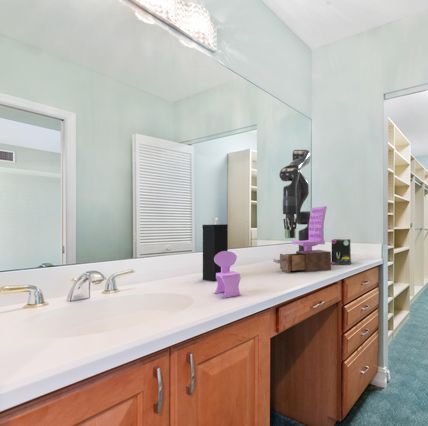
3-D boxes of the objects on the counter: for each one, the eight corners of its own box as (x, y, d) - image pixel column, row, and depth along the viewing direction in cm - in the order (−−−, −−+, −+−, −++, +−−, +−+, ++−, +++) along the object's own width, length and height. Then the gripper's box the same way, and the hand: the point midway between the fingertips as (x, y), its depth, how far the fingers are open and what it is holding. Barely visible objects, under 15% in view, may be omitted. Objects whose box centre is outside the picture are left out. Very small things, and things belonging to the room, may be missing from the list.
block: (284, 238, 148) (284, 229, 149) (292, 237, 150) (292, 229, 150) (287, 238, 144) (287, 229, 145) (295, 238, 146) (295, 229, 146)
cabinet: (306, 272, 141) (305, 253, 141) (296, 268, 152) (296, 251, 153) (331, 269, 147) (330, 251, 148) (319, 266, 159) (319, 249, 159)
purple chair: (291, 263, 171) (291, 207, 173) (315, 261, 180) (315, 207, 181) (303, 266, 158) (302, 205, 160) (328, 264, 167) (327, 206, 168)
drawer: (279, 272, 136) (279, 256, 136) (271, 269, 146) (271, 254, 146) (312, 269, 143) (312, 254, 144) (303, 266, 154) (302, 252, 154)
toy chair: (220, 298, 92) (220, 253, 93) (211, 293, 99) (211, 251, 100) (243, 294, 97) (243, 251, 98) (234, 290, 104) (233, 249, 105)
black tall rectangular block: (228, 278, 128) (227, 217, 129) (214, 281, 121) (214, 217, 122) (216, 276, 132) (215, 217, 133) (202, 279, 125) (202, 217, 126)
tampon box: (331, 264, 167) (331, 239, 168) (333, 262, 176) (333, 239, 177) (349, 264, 165) (349, 239, 165) (351, 262, 174) (350, 239, 174)
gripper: (301, 204, 143) (302, 237, 142) (291, 206, 156) (291, 237, 155) (288, 204, 140) (288, 238, 139) (278, 206, 153) (278, 237, 152)
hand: (290, 237), depth 147 cm, fingers closed on block, 4 cm apart
